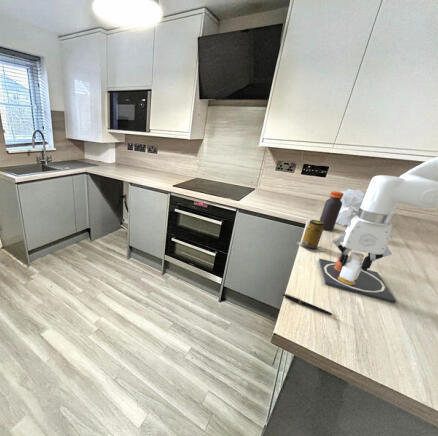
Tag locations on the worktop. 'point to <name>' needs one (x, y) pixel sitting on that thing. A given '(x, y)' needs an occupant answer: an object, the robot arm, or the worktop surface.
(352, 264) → the pepper shaker
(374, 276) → the face board
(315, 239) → the condiment
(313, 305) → the fountain pen
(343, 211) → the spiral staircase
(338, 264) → the red faceted block
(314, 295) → the worktop surface
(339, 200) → the bottle
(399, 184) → the robot arm
